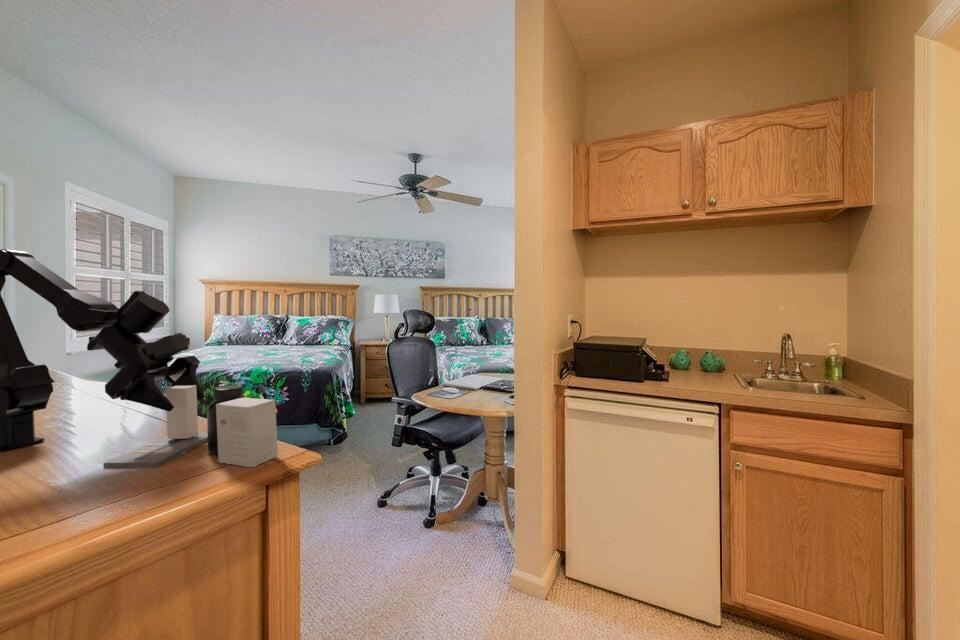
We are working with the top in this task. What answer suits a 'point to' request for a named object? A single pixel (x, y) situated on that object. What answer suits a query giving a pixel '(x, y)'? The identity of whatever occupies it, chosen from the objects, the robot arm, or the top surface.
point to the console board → (157, 452)
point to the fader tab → (182, 412)
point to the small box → (246, 431)
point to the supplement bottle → (220, 396)
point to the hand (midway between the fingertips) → (188, 403)
